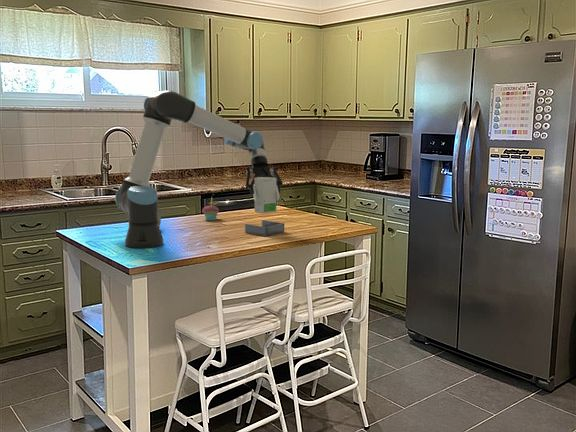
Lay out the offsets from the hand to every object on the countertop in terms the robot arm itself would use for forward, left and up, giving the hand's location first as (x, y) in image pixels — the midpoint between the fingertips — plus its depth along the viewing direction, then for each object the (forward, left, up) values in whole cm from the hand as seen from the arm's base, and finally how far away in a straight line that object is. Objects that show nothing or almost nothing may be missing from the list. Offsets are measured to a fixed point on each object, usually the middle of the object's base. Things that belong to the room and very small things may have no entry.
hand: (267, 198), depth 253 cm
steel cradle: (+1, +3, -16) cm, 16 cm away
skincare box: (+2, +2, -7) cm, 7 cm away
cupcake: (+8, +44, -16) cm, 48 cm away
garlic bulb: (-26, +48, -16) cm, 57 cm away
